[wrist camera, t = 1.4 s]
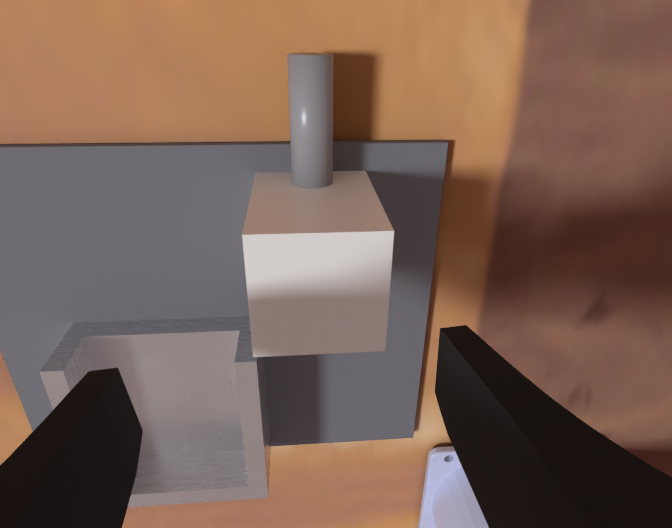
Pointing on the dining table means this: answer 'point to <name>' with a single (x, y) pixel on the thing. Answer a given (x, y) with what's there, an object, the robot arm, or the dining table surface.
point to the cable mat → (205, 265)
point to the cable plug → (316, 238)
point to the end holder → (180, 402)
